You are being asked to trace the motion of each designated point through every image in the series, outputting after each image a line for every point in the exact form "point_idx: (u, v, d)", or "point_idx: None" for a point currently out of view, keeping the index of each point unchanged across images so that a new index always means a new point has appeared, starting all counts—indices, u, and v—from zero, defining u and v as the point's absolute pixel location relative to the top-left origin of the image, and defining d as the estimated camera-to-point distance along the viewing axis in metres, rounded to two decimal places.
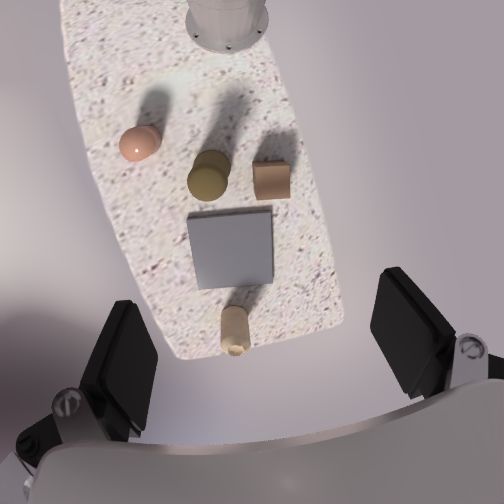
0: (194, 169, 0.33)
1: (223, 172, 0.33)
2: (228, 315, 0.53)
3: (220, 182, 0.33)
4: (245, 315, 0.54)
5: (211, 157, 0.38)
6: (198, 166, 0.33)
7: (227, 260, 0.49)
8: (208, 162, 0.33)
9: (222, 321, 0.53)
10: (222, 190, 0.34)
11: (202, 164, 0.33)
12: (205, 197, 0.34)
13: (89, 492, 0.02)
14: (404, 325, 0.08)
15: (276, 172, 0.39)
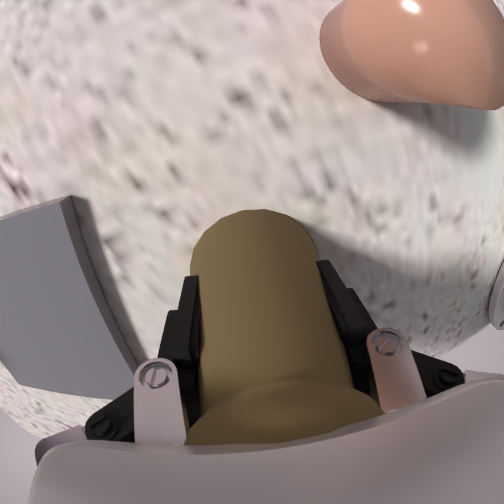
0: None
1: None
2: None
3: None
4: None
5: None
6: None
7: (7, 316, 0.12)
8: None
9: None
10: None
11: None
12: None
13: (89, 492, 0.02)
14: None
15: None
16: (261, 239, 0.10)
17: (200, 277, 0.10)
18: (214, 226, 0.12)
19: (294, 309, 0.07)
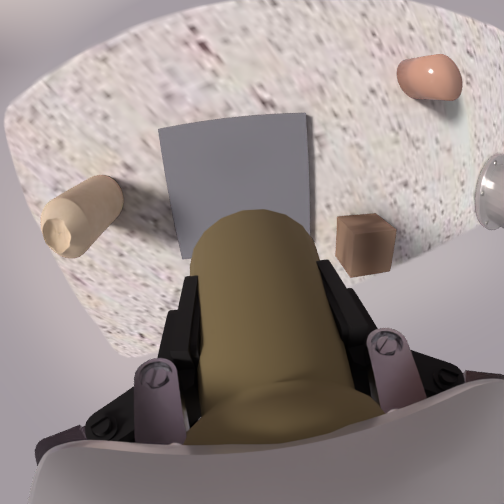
0: None
1: None
2: (110, 194, 0.24)
3: None
4: None
5: None
6: None
7: (225, 180, 0.26)
8: None
9: (97, 184, 0.23)
10: None
11: None
12: None
13: (89, 492, 0.02)
14: None
15: (385, 256, 0.27)
16: (261, 238, 0.10)
17: (199, 277, 0.10)
18: (214, 226, 0.12)
19: (294, 309, 0.07)
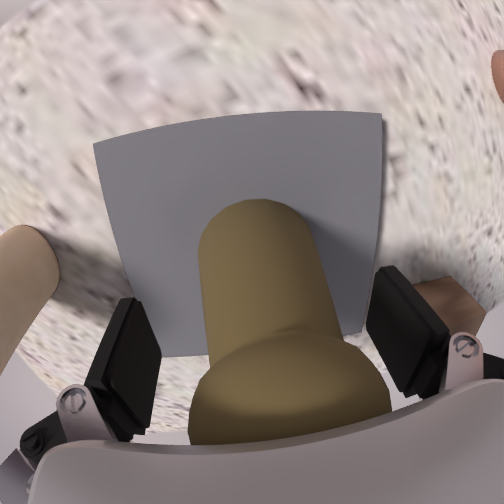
0: (384, 411, 0.05)
1: None
2: (27, 269, 0.11)
3: None
4: None
5: None
6: None
7: None
8: None
9: (5, 251, 0.10)
10: None
11: None
12: None
13: (89, 492, 0.02)
14: (398, 324, 0.08)
15: None
16: (262, 222, 0.11)
17: (208, 257, 0.11)
18: (220, 214, 0.13)
19: (291, 277, 0.08)
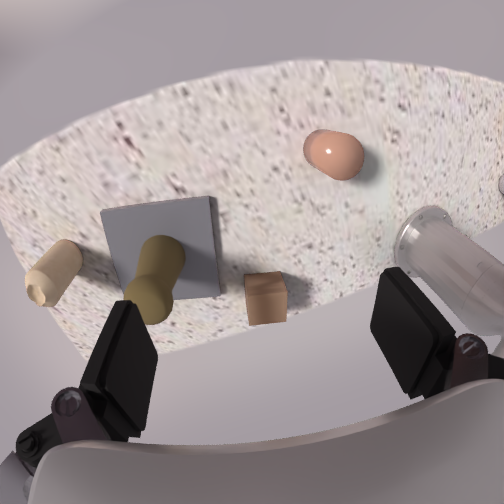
0: (161, 293, 0.25)
1: None
2: (71, 259, 0.31)
3: (150, 323, 0.26)
4: None
5: (177, 275, 0.31)
6: (166, 298, 0.25)
7: None
8: (172, 303, 0.26)
9: (61, 252, 0.30)
10: None
11: (169, 301, 0.26)
12: None
13: (89, 492, 0.02)
14: (404, 325, 0.08)
15: (279, 311, 0.36)
16: (156, 245, 0.31)
17: (140, 256, 0.31)
18: (147, 240, 0.33)
19: (156, 263, 0.29)
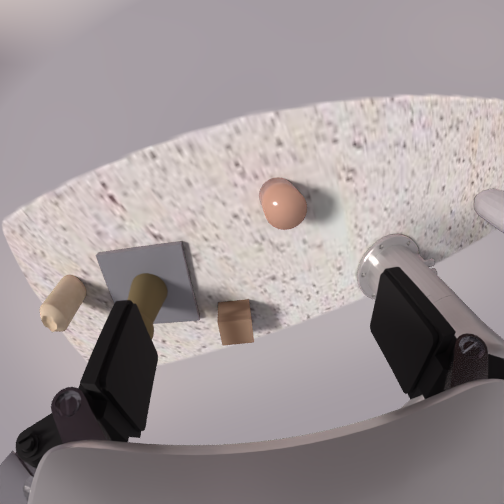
0: None
1: None
2: (76, 292, 0.38)
3: None
4: (80, 304, 0.41)
5: (158, 307, 0.38)
6: None
7: None
8: (152, 332, 0.33)
9: (67, 287, 0.37)
10: None
11: (149, 331, 0.32)
12: None
13: (89, 492, 0.02)
14: (404, 325, 0.08)
15: (246, 334, 0.42)
16: (141, 283, 0.38)
17: (129, 292, 0.38)
18: (135, 277, 0.40)
19: (140, 299, 0.35)
